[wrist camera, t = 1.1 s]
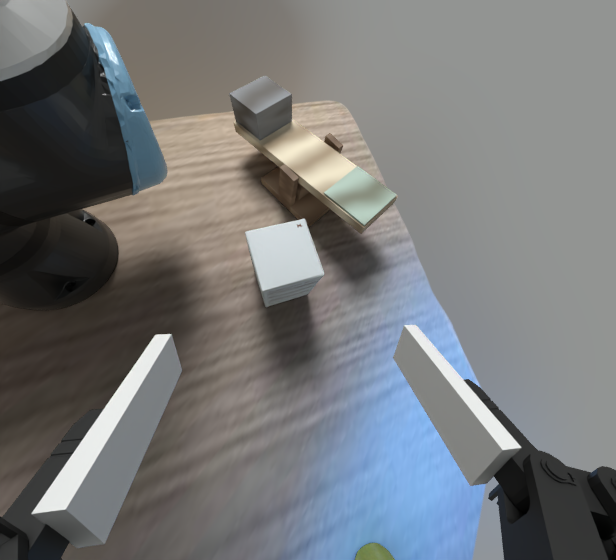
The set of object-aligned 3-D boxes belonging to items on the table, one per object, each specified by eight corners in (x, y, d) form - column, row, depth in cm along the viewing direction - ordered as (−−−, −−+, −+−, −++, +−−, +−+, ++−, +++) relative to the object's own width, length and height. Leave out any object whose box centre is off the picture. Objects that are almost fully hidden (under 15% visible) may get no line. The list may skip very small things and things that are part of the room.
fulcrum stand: (261, 183, 40) (259, 147, 33) (303, 154, 44) (310, 114, 36) (307, 228, 39) (315, 202, 32) (346, 195, 43) (363, 164, 35)
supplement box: (252, 265, 36) (243, 228, 24) (295, 255, 38) (306, 215, 26) (264, 308, 35) (260, 292, 23) (308, 296, 36) (326, 274, 24)
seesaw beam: (235, 131, 38) (226, 94, 32) (270, 111, 40) (267, 74, 35) (360, 233, 32) (373, 208, 26) (393, 203, 34) (411, 174, 29)
